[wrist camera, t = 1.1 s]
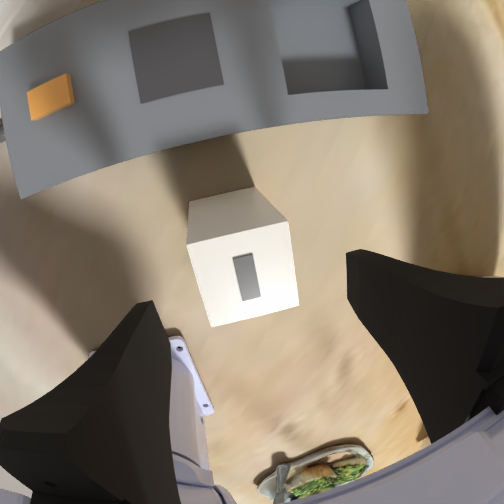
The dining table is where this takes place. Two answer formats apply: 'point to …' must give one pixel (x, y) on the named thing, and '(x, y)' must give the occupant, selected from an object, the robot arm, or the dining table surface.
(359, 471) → the salad plate
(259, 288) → the block
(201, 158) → the dining table surface
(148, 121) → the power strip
